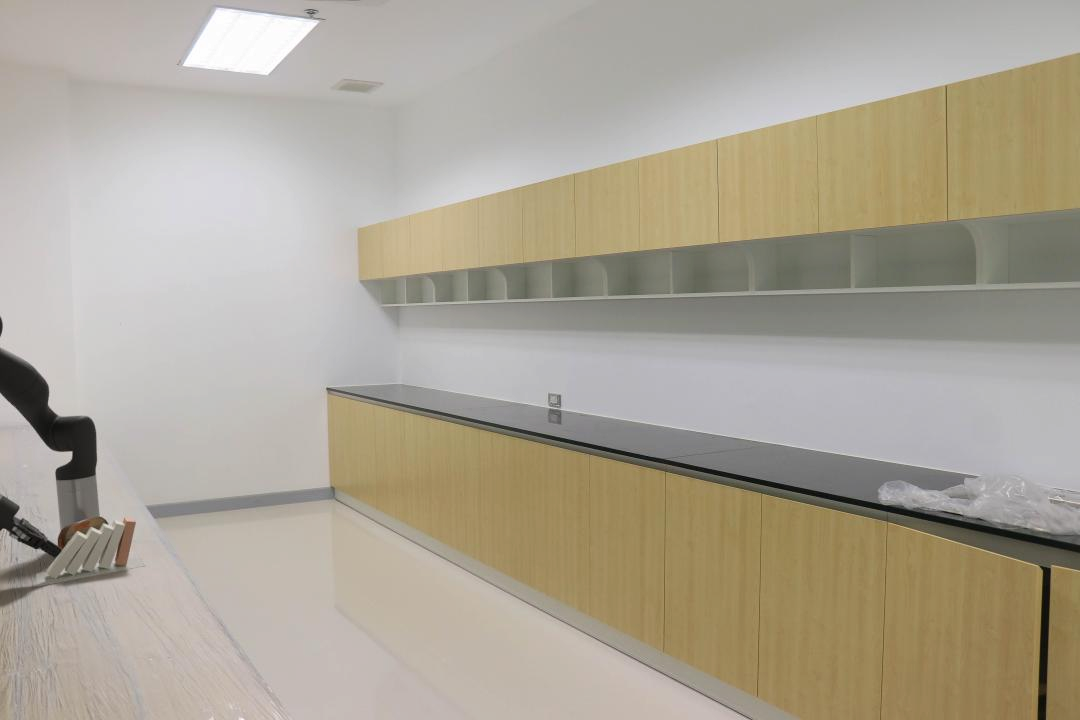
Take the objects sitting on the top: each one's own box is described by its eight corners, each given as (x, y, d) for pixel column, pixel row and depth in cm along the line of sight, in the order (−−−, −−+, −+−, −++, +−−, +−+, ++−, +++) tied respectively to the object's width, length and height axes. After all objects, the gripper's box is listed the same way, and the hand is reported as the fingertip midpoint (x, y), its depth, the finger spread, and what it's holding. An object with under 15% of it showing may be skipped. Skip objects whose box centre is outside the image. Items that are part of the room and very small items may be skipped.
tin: (67, 563, 196) (64, 528, 196) (56, 563, 197) (53, 528, 197) (112, 545, 211) (109, 513, 211) (101, 545, 212) (99, 513, 211)
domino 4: (98, 562, 190) (114, 519, 192) (107, 564, 191) (123, 521, 193) (99, 567, 186) (116, 523, 188) (109, 568, 187) (125, 525, 189)
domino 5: (114, 560, 192) (124, 517, 193) (124, 561, 193) (133, 518, 194) (116, 565, 188) (126, 521, 189) (126, 565, 189) (135, 521, 190)
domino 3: (81, 564, 188) (103, 523, 191) (90, 567, 189) (111, 526, 192) (82, 569, 184) (104, 526, 186) (92, 572, 185) (113, 529, 187)
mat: (36, 575, 187) (36, 573, 187) (139, 556, 198) (138, 555, 198) (37, 588, 177) (37, 586, 177) (145, 567, 188) (145, 565, 188)
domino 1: (47, 569, 185) (77, 530, 188) (55, 573, 186) (85, 535, 189) (47, 574, 181) (78, 534, 184) (56, 578, 181) (86, 539, 184)
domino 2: (64, 566, 187) (90, 526, 189) (73, 570, 187) (99, 530, 190) (65, 571, 182) (92, 530, 185) (74, 575, 183) (100, 534, 186)
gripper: (0, 499, 173) (72, 545, 180) (2, 490, 184) (70, 534, 191) (-28, 528, 170) (46, 574, 177) (-25, 518, 181) (45, 561, 188)
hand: (58, 553), depth 184 cm, fingers closed
